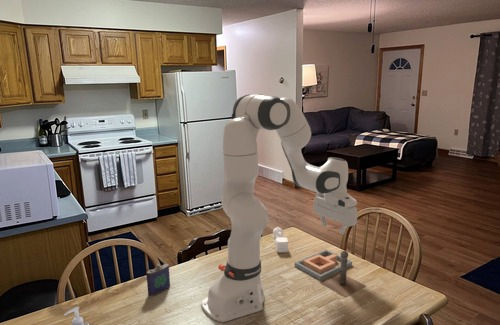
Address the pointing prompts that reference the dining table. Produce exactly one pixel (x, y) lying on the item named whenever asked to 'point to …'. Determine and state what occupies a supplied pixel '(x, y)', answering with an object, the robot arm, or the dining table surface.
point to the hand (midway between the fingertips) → (332, 229)
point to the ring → (327, 263)
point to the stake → (343, 280)
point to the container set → (280, 240)
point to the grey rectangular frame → (326, 274)
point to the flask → (158, 279)
